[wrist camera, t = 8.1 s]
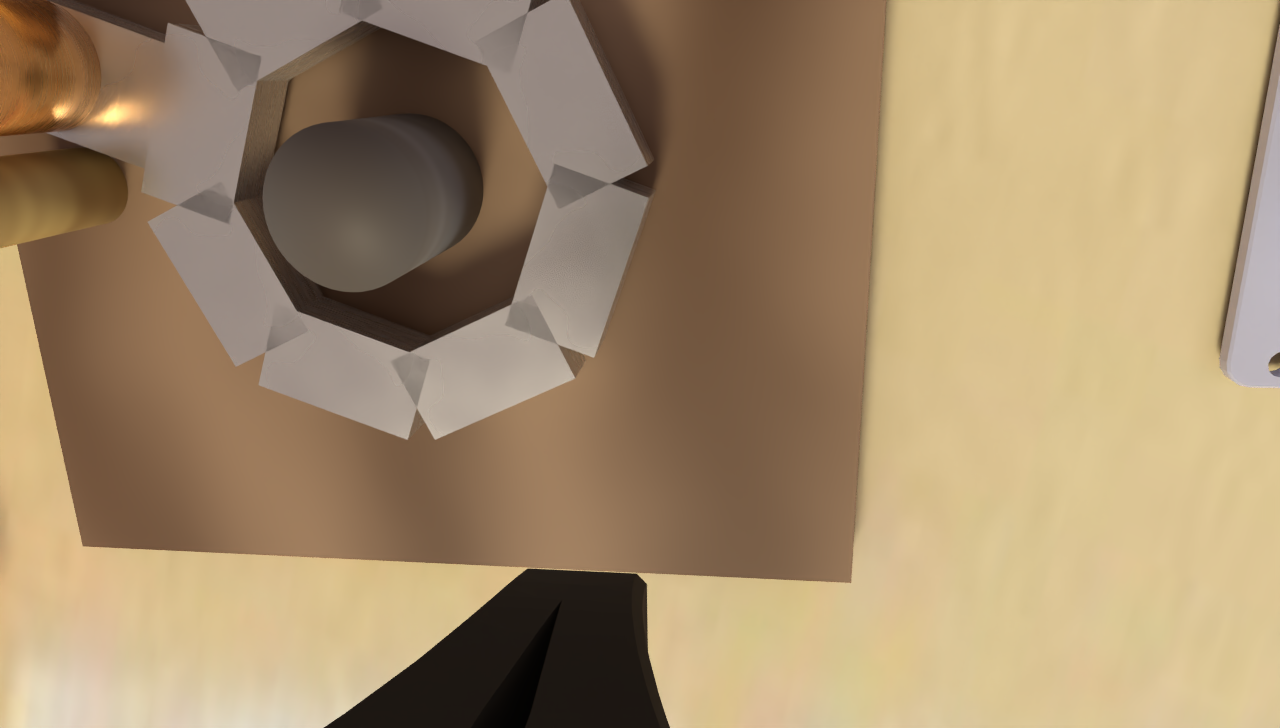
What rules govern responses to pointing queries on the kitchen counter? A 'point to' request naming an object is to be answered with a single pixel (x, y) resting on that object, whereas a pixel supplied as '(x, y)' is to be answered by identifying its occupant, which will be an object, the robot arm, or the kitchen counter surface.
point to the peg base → (480, 278)
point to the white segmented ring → (244, 146)
